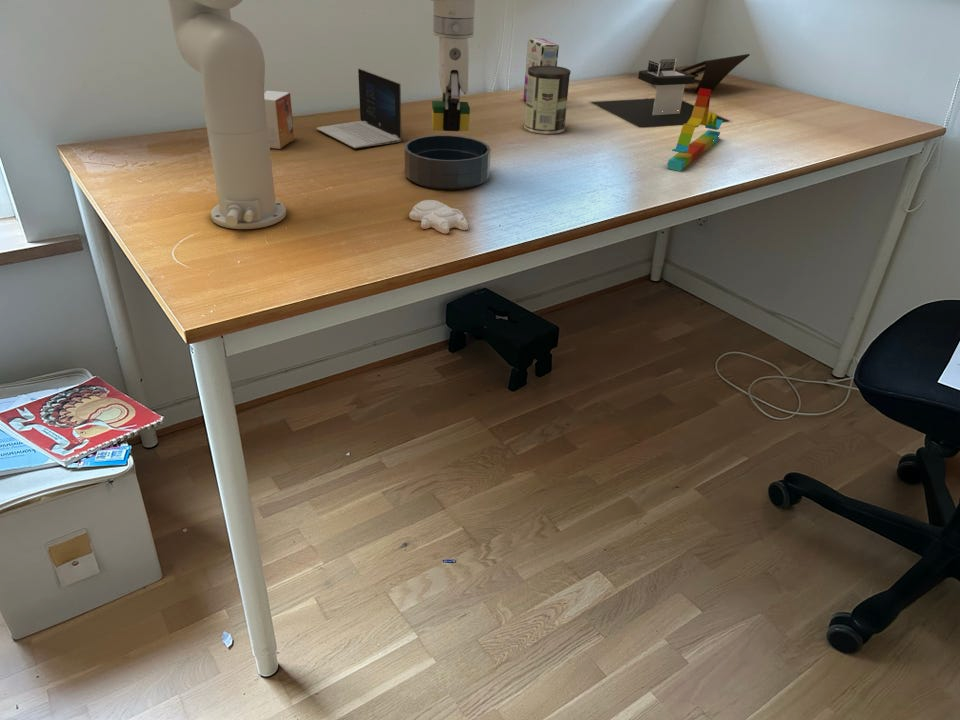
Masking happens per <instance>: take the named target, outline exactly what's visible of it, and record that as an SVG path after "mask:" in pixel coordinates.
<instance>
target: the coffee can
mask: <svg viewBox="0 0 960 720" xmlns="http://www.w3.org/2000/svg"><path fill="white" fill-rule="evenodd" d="M571 73H572V71H571V69H569V68H568V67H563V66H558V65H557V66H546V65H545V66H543V65H541V66H532V67H529V68H528V83H527V99H526V101H525V113H524V125H523V127H524V129H525V130H526V131H528V132H531V133H534V134H541V135H555V134H561V133H563V132H564V131H565V130H566V128H565V127H566V115H567V104H568V97H569V87H570V76H571Z"/></svg>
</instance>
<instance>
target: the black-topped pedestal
mask: <svg viewBox="0 0 960 720" xmlns="http://www.w3.org/2000/svg"><path fill="white" fill-rule="evenodd" d="M647 64H648V65H647V69H646V70H639V71H638V75H637V76H638V77H637V79H638V80H640V81H642V82H645V83H647V84H650V85H652V86H653V87H654V88H655V89H656V90H655V96H654V98H641V99H640V98H639V99H637V98H636V99H622V100H621V99H620V100H603V101H602V100H601V101H592V103H593V104H594V105H597V106H599V107H600V108H603V109H604V110H606V111H608V112H610V113H612V114H614V115H616V116H618V117H620V118H622V119H623V120H625V121H627V122H629V123H632V124H633V125H636V126H637V127H640V128H643V127H644V128H645V127H647V128H648V127H660V126H675V125H683V124H686V123H687V122H688V121H689V119H690V118H691V115H692V112H693V109H694V105H695V104H694V105H693V104H691V103H688V102H687V101H684V100H683V98H684V92H685V87H686V85H695V82H696V81H695V80H696V77H695V76H694V75H691V74H688V73H689V72H688V73H686V72H683V71H680V70H681V69H677V68H676V65H677V58H675V59H672V58H671V59H661V58H659V60H658V62H655V61H653V60H651V59H648V63H647ZM677 110H679V111H677ZM662 111H663V112H662ZM717 119H718V120H723V122H729V121H730V120H729V119H727V118H724V117H722V116H719V115H717Z"/></svg>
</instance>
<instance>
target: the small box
mask: <svg viewBox="0 0 960 720" xmlns="http://www.w3.org/2000/svg"><path fill="white" fill-rule="evenodd" d="M264 99H265V111H266V121H267V129H268V137H269V146H270V149H278V150H280V149H281V150H282V148H284V147H285V146H287V145H288V144H290V143H292V142H293V141H295V131H294V121H293V110H292V109H293V108H292V100H291V99H292V98H291V93H290V92H288V91H279V90H278V91H277V90H266V91H264Z"/></svg>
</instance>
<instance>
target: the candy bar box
mask: <svg viewBox="0 0 960 720" xmlns="http://www.w3.org/2000/svg"><path fill="white" fill-rule="evenodd" d="M559 47H560V45H558V44H556V43H554V42H553V41H550V40H547V39H545V38H538V37H537V38H535V37H534V38H528V39H527V49H526V61H525V62H526V63H525V74H524V75H525V76H524V85H523V86H524V87H523V99H522V100H523V101H524V102H526V99H527V83H528V68H529V67H532V66H541V65H543V66H545V65H546V66H558V58H559V50H560V49H559Z"/></svg>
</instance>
